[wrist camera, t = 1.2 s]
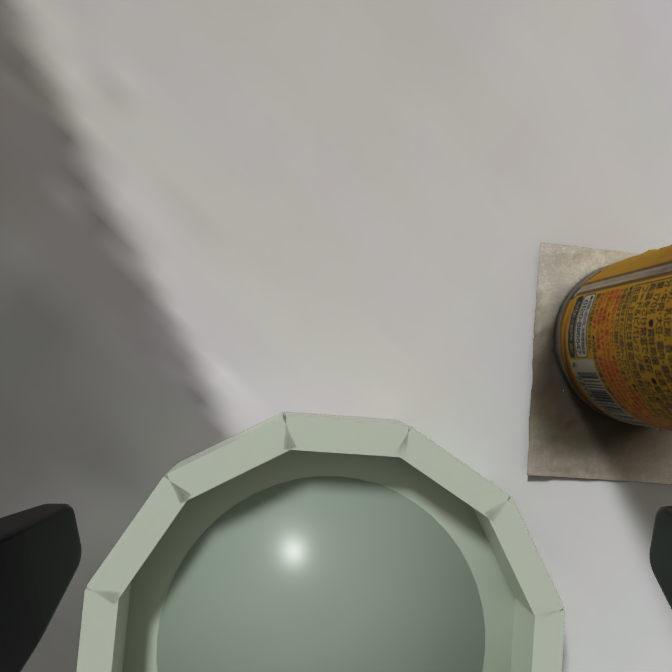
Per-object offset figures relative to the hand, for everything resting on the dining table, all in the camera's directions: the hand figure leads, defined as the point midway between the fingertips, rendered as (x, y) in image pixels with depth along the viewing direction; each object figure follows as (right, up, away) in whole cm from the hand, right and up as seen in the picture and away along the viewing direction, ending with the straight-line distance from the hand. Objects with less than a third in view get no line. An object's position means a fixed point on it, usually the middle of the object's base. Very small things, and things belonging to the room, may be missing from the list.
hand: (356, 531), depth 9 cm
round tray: (-1, -7, +11) cm, 13 cm away
